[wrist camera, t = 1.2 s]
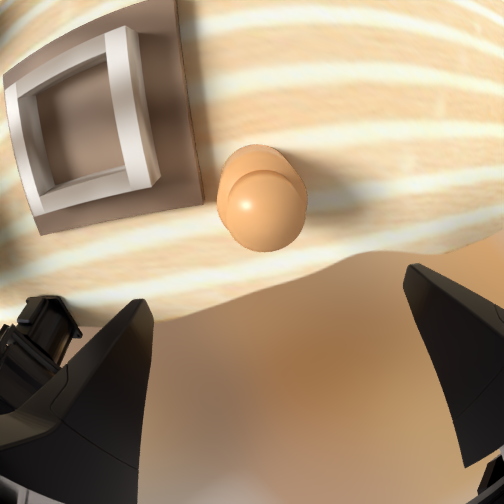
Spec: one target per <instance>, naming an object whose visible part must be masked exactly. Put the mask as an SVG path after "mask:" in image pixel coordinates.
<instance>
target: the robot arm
mask: <svg viewBox="0 0 504 504" xmlns="http://www.w3.org/2000/svg"><path fill="white" fill-rule="evenodd" d="M403 289H404V292H405V295H406V297H407V300H408V303H409V306H410V309H411V311H412V314H413V317H414V320H415V323H416V325H417V327H418V330H419V332H420V334H421V337H422V339H423V341H424V343H425V346H426V348H427V350H428V353H429V355H430V358H431V360H432V363H433V365H434V368H435V370H436V373H437V376H438V378H439V381H440V384H441V387H442V389H443V392H444V395H445V398H446V401H447V404H448V407H449V410H450V413H451V417H452V420H453V424H454V427H455V431H456V435H457V439H458V442H459V446H460V450H461V455H462V459H463V464H464V467H465V468H467V467H469V466H471V465H472V464H474V463H476V462H478V461H480V460H481V459H483V458H484V457H486V456H488V455H489V454H491V453H493V452H494V451H495V450H497V449H500V452H501V454H500V455H498V456H497V457H496V458H494V459H493V460H492V461H490V462H489V463H488V464H487V467H486V470H485V472H484V475H483V478H482V480H481V482H480V485H479V487H478V490H477V492H478V496H477V497H475V498H474V499H472V500H471V501H469V502H468V503H466V504H504V309H503V308H501V307H499V306H498V305H496V304H493V303H492V302H490V301H489V300H487V299H485V298H483V297H482V296H480V295H478V294H476V293H475V292H473V291H471V290H469V289H467V288H465V287H464V286H462V285H460V284H458V283H456V282H454V281H452V280H450V279H449V278H447V277H445V276H443V275H441V274H439V273H437V272H435V271H433V270H431V269H429V268H427V267H425V266H423V265H421V264H419V263H415V264H410V265H409V266H408V267H407V270H406V274H405V278H404V282H403ZM26 303H27V305H26V306H25V308H24V309H23V311H22V312H21V314H20V315H19V317H18V318H17V322H18V325H17V326H15V325H14V324H12V325H11V326H8V325H6V324H4V325H3V326H2V328H1V330H0V504H137V495H138V473H139V470H138V469H139V456H140V444H141V433H142V424H143V415H144V407H145V400H146V392H147V386H148V379H149V373H150V366H151V356H152V341H153V327H154V319H153V315H152V313H151V311H150V309H149V307H148V304H147V302H146V301H145V300H144V299H134V300H132V301H131V302H130V303H129V304H127V305H126V306H125V307H124V308H123V309H122V310H121V311H120V312H119V313H118V314H117V315H116V316H115V317H114V318H113V319H111V320H110V321H109V322H108V323H107V324H106V325H105V326H104V327H103V328H102V329H101V330H100V331H99V332H98V333H97V334H96V335H95V336H94V337H93V338H92V339H91V340H90V341H89V342H88V343H87V344H86V345H85V346H84V347H82V348H81V349H80V351H79V352H77V353H76V354H75V356H74V357H73V358H71V360H69V361H68V364H66V365H65V366H64V367H63V368H61V367H60V365H61V362H62V360H63V358H64V355H65V353H66V351H67V349H68V346H69V344H70V342H71V340H72V338H82V335H83V334H82V332H81V331H80V329H79V328H78V326H77V325H76V323H75V322H74V320H73V319H72V317H71V315H70V314H69V312H68V310H67V309H66V307H65V305H64V304H63V302H62V300H61V299H60V298H59V297H58V296H51V297H32V298H27V300H26ZM6 344H8V346H7V345H6Z"/></svg>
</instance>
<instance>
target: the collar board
mask: <svg viewBox="0 0 504 504" xmlns="http://www.w3.org/2000/svg"><path fill="white" fill-rule="evenodd" d="M3 83H4V95H5V104H6V112H7V119H8V125H9V131H10V136H11V141H12V146H13V151H14V155H15V159H16V163H17V167H18V171H19V175H20V178H21V182H22V185H23V188H24V191H25V195H26V198H27V201H28V204H29V206H30V209H31V212H32V215H33V218H34V220H35V223H36V225H37V228H38V230H39V233H40V235H41V236H42V235H47V234H51V233H55V232H59V231H63V230H68V229H72V228H76V227H81V226H86V225H90V224H95V223H100V222H105V221H110V220H115V219H120V218H125V217H130V216H136V215H141V214H147V213H152V212H158V211H164V210H170V209H176V208H183V207H189V206H196V205H203V203H204V200H205V196H204V191H203V185H202V180H201V174H200V169H199V163H198V157H197V151H196V145H195V139H194V133H193V127H192V120H191V114H190V107H189V100H188V93H187V86H186V79H185V72H184V64H183V56H182V48H181V39H180V31H179V21H178V12H177V1H176V0H146V1H143V2H140V3H137V4H134V5H131V6H128V7H125V8H122V9H120V10H117V11H114V12H112V13H109V14H107V15H104V16H102V17H100V18H97V19H95V20H93V21H91V22H88V23H86V24H84V25H82V26H80V27H78V28H76V29H74V30H72V31H70V32H68V33H66V34H65V35H63V36H61V37H59V38H57V39H56V40H54V41H52V42H50V43H49V44H47V45H45V46H44V47H42V48H41V49H39V50H37V51H36V52H34V53H33V54H31V55H30V56H28V57H27V58H25V59H24V60H23V61H21V62H20V63H18V64H17V65H16V66H14V67H13V68H12V69H10V70H9V71H8V72H6V73H5V74H4V75H3Z"/></svg>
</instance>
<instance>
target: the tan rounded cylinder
mask: <svg viewBox="0 0 504 504" xmlns="http://www.w3.org/2000/svg"><path fill="white" fill-rule="evenodd" d="M306 208H307V192H306V188H305V185H304V183H303V181H302V179H301V178H300V177H299V175H298V174H297V173H296V171H295V170H294V169H293V168H292V166H291V165H290V164H289V163H288V161H287V160H286V159H285V158H284V156H283V155H282V154H281V153H280V152H278V151H277V150H275V149H273V148H271V147H269V146H265V145H258V144H257V145H248V146H245V147H242V148H240V149H238V150H237V151H235V152H234V153H233V154H231V156H230V157H229V158H228V159H227V160H226V162H225V164H224V166H223V169H222V173H221V178H220V184H219V189H218V195H217V210H218V214H219V217H220V219H221V221H222V223H223V225H224V226H225V227H226V228H227V229H228V230H229V232H230V233H231V235H232V237H233V238H234V239H235V240H236V241H237V242H238V243H239V244H240V245H242V246H243V247H245V248H247V249H249V250H252V251H257V252H272V251H276V250H279V249H282V248H284V247H286V246H287V245H289V244H290V243H292V242H293V241H294V240H295V239H296V238H297V236H298V235H299V234H300V232H301V230H302V228H303V225H304V222H305V212H306Z"/></svg>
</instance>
